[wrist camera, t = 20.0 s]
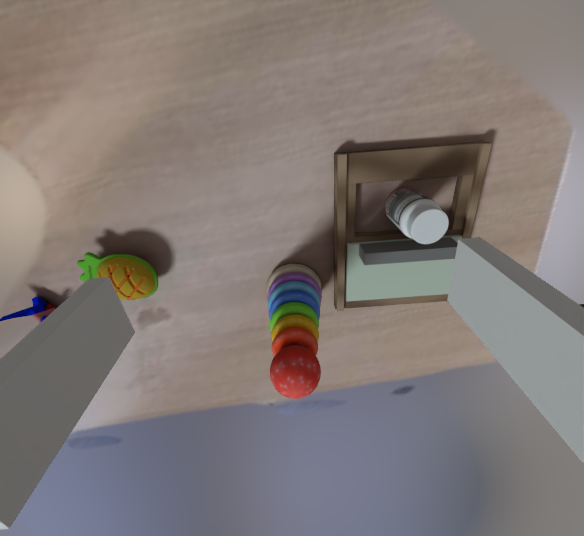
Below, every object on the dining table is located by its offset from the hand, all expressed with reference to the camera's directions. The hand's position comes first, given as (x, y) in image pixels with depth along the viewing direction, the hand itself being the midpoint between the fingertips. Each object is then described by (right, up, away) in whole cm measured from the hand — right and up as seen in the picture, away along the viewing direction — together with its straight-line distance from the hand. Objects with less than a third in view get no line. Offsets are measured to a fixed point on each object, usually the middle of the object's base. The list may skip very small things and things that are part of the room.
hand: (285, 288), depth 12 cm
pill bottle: (+15, +9, +27) cm, 32 cm away
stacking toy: (0, -2, +33) cm, 33 cm away
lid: (+15, +1, +30) cm, 34 cm away
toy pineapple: (-23, +1, +30) cm, 38 cm away
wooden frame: (+15, +5, +29) cm, 33 cm away
